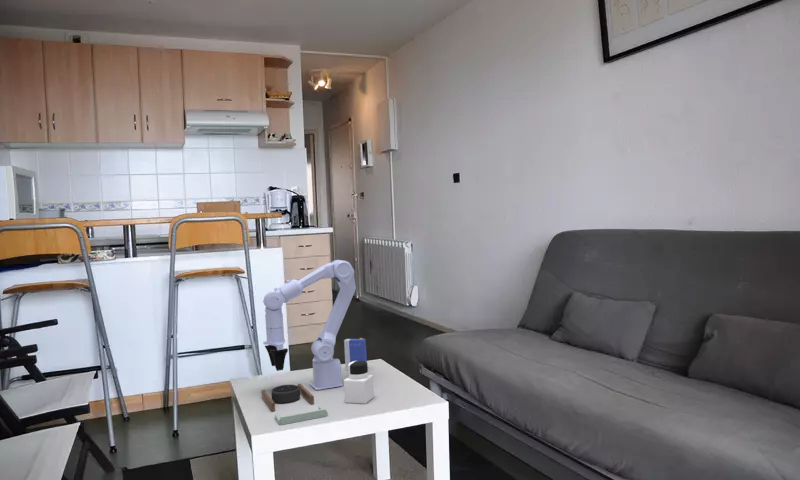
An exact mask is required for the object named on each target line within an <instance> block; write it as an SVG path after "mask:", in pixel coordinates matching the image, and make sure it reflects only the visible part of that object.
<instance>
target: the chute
mask: <svg viewBox="0 0 800 480" xmlns="http://www.w3.org/2000/svg"><path fill="white" fill-rule="evenodd" d="M297 386H298V387H299V388H300V396H301V397H303V398H304V399H305V401H307V402H308V404H310V405H315V397H314V394H313V393H311V392H310V391H309V390H308V389H307V388H306V387H305V386H304V385H303V384H302V383H297ZM260 391H261V392H260V393H261V398H262V400H263V402H264V403H265V404H266V406H267V408H269V410H270V411H271V412H275V411H276V402H274V401H273V400H272V396H270V395H269V393H268V392H267V390H265V389H261V390H260Z"/></svg>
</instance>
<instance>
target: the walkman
mask: <svg viewBox="0 0 800 480" xmlns="http://www.w3.org/2000/svg"><path fill="white" fill-rule="evenodd" d="M343 343H344V344H343V345H344V348H343V349H344V361H345V364H344V365H345V372H348V364H349V363H350V362H353V361H365V362H367V363H368V360H367V359H368V358H367V357H368V356H367V341H366V338H363V337H359V338H346V339H343Z"/></svg>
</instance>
